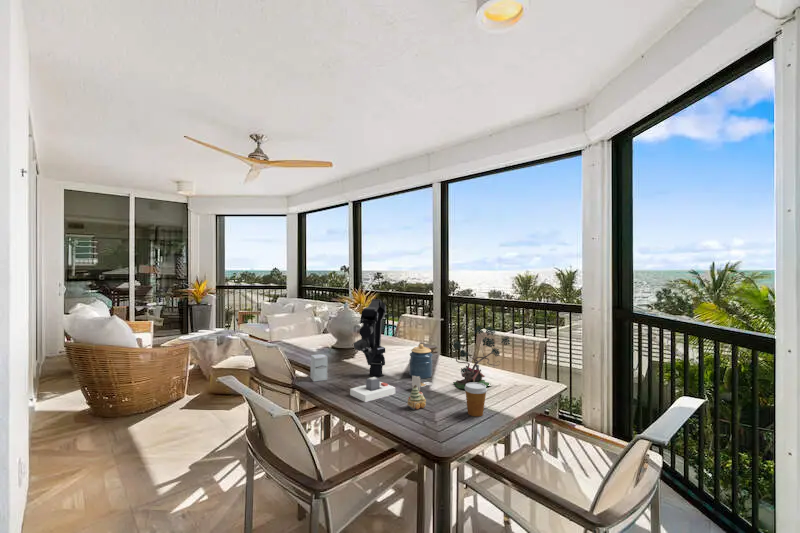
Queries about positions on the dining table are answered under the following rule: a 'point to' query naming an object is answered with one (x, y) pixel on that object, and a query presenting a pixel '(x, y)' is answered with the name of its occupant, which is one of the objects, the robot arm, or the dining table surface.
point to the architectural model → (417, 382)
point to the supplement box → (318, 367)
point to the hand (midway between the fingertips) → (369, 364)
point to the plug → (372, 384)
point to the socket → (372, 392)
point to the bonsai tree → (473, 374)
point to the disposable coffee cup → (475, 398)
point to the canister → (421, 362)
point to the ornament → (416, 399)
